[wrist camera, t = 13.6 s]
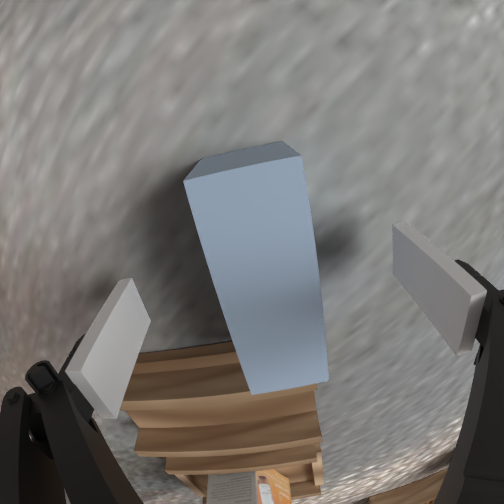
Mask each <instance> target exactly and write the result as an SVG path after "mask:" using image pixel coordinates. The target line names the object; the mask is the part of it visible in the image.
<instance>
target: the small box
mask: <svg viewBox="0 0 504 504" xmlns="http://www.w3.org/2000/svg"><path fill="white" fill-rule="evenodd" d="M206 504H292V503H291V493H290V484H289V479H288V478H287V477H285V476H283V475H281V474H280V473H278V472H277V471H276V470H274V469H270V470H262V471H252V472H241V473H227V474H208V485H207V501H206Z"/></svg>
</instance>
